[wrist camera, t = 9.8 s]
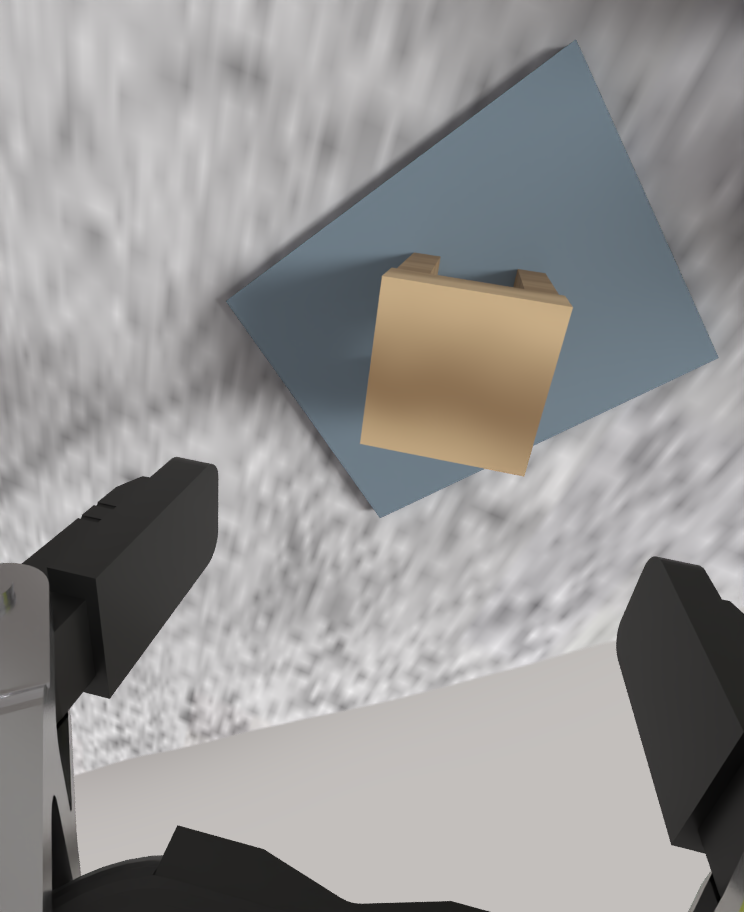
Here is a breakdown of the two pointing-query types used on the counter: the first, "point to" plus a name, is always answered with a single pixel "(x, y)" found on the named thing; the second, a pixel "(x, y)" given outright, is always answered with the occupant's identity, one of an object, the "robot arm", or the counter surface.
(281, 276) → the mat
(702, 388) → the counter surface
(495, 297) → the wooden stool
